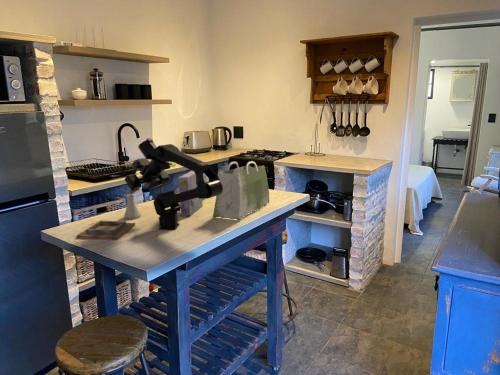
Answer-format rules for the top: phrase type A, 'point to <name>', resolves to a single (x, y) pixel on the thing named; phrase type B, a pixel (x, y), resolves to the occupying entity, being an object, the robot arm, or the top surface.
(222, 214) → the grocery bag
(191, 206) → the cake pan box
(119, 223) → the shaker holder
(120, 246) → the top surface
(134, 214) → the flask
